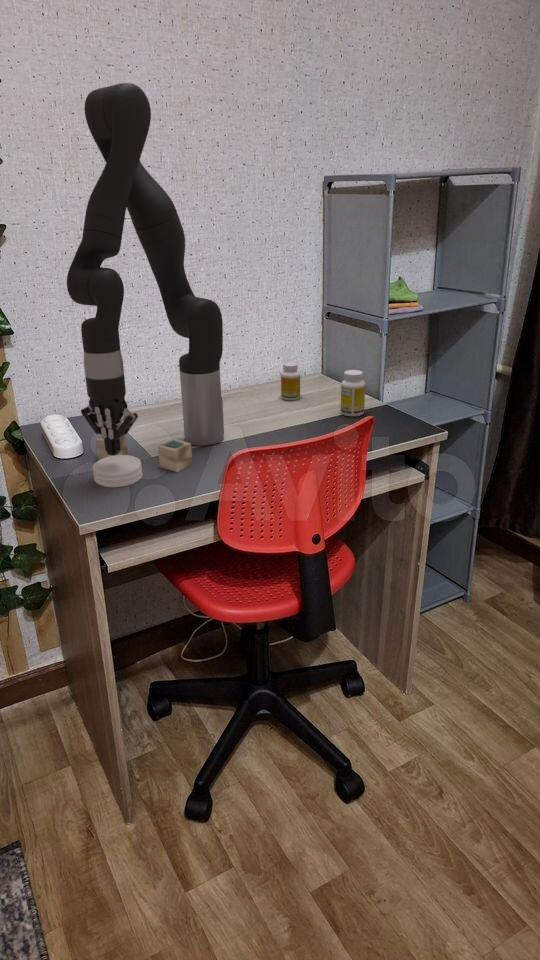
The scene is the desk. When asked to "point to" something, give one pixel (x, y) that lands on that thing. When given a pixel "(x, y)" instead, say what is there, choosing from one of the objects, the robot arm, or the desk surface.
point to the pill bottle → (352, 393)
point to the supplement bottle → (290, 381)
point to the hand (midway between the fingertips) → (113, 453)
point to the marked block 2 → (175, 455)
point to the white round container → (117, 471)
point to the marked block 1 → (102, 451)
